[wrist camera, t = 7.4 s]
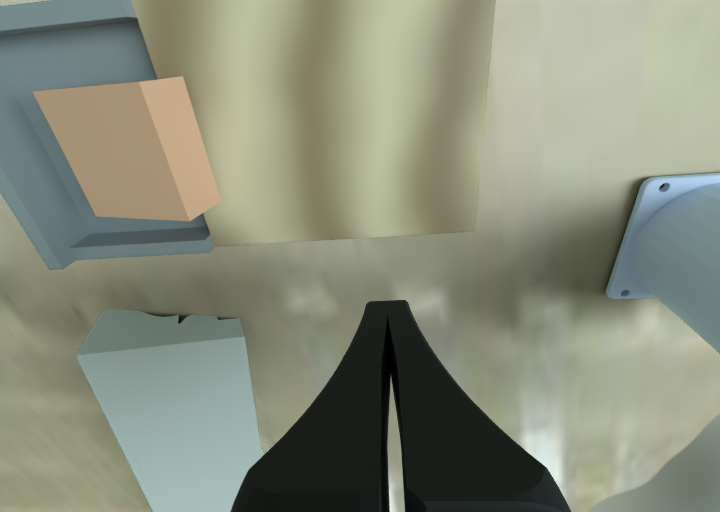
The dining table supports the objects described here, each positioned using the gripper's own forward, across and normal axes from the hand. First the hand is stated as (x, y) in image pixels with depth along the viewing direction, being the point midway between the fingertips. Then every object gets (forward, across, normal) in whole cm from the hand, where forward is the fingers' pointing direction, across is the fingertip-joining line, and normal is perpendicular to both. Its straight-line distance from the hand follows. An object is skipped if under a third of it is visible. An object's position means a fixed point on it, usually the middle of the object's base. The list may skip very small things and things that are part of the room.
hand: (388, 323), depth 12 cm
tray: (+10, +14, -5) cm, 18 cm away
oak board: (+10, +2, -5) cm, 11 cm away
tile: (+9, +12, -5) cm, 15 cm away
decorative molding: (+11, +18, +24) cm, 32 cm away
